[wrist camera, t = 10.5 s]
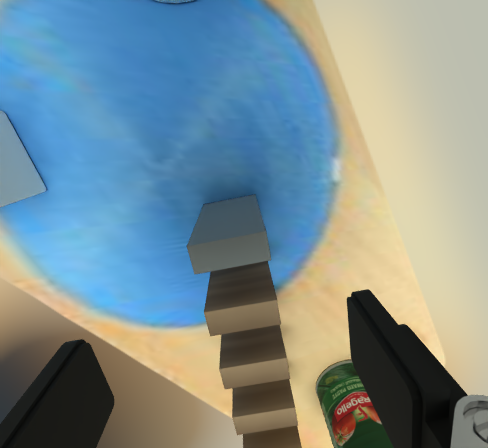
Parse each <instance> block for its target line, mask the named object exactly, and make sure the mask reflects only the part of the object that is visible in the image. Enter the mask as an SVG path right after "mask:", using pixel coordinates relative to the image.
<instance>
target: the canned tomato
mask: <svg viewBox="0 0 488 448" xmlns="http://www.w3.org/2000/svg"><path fill="white" fill-rule="evenodd" d="M316 393H317V396H318V398H319V401H320V405H321V408H322V411H323V415H324V417H325V421H326V424H327V428H328V430H329V434H330V437H331V440H332V444H333V446H334V448H394V447H393V445H392V443H391V441H390V439H389V437H388V435H387V433H386V431H385V429H384V427H383V425H382V423H381V421H380V419H379V417H378V415H377V413H376V411H375V409H374V407H373V405H372V403H371V401H370V399H369V397H368V395H367V393H366V391H365V388H364V386H363V384H362V382H361V380H360V378H359V376H358V374H357V372H356V370H355V368H354V366H353V363H352V360H346V361H341V362H338V363H335V364H333V365H332V366H330V367H328V368H327V369H326V370H325V371H324V372H323V373H322V374H321V375H320V377H319V378H318V380H317V383H316Z"/></svg>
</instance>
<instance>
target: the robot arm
mask: <svg viewBox="0 0 488 448" xmlns="http://www.w3.org/2000/svg"><path fill="white" fill-rule="evenodd" d="M156 1H159V2H167V3H181V2H188V1H193V0H156ZM347 309H348V323H349V336H350V349H351V359H352V363H353V366H354V368H355V370H356V372H357V374H358V376H359V378H360V380H361V382H362V384H363V386H364V388H365V391H366V393H367V395H368V397H369V399H370V401H371V403H372V405H373V407H374V409H375V411H376V413H377V415H378V417H379V419H380V421H381V423H382V425H383V427H384V429H385V431H386V433H387V435H388V437H389V439H390V441H391V443H392V445H393V447H394V448H488V396H484V395H469V396H468V395H467V394H466V393H465V391H464V390H463V389H462V388H461V387H460V386H459V384H458V383H457V382H456V381H455V380H454V379H453V377H452V376H451V375H450V374H449V373H448V372H447V371H446V370H445V368H444V367H443V366H442V365H441V364H440V362H439V361H438V360H437V359H436V358H435V357H434V355H433V354H432V353H431V352H430V351H429V350H428V348H427V347H426V346H425V345H424V344H423V343H422V341H421V340H420V339H419V338H418V337H417V336H416V334H415V333H414V332H413V331H412V330H411V329H410V328H409V327H408V326H407V325H405V324H401V325H398V324H397V323H396V321H395V320H394V319H393V318H392V317H391V315H390V314H389V313H388V312H387V310H386V309H385V308H384V307H383V306H382V304H381V303H380V302H379V301H378V299H377V298H376V297H375V296H374V295H373V293H372V292H371V291H370V290H368V289H367V290H361V291H356V292H352V294H351V297H348V298H347ZM113 406H114V396H113V394H112V391H111V389H110V387H109V385H108V383H107V381H106V378H105V376H104V374H103V372H102V369H101V367H100V365H99V363H98V360H97V358H96V356H95V354H94V352H93V349H92V347H91V345H90V344H89V343H86V342H85V341H84V340H82V339H81V340H75V341H69V342H65V343H64V344H63V345H62V346H61V347H60V348H59V350H58V351H57V352H56V354H55V355H54V356H53V357H52V359H51V360H50V361H49V362H48V364H47V365H46V366H45V368H44V369H43V370H42V371H41V373H40V374H39V375H38V376H37V378H36V379H35V380H34V382H33V383H32V384H31V385H30V387H29V388H28V389H27V391H26V392H25V393H24V394H23V396H22V397H21V398H20V400H19V401H18V402H17V403H16V405H15V406H14V407H13V409H12V410H11V411H10V412H9V414H8V415H7V416H6V417H5V419H4V420H3V421H2V423H1V424H0V448H96V447H97V444H98V442H99V440H100V437H101V435H102V433H103V430H104V428H105V425H106V423H107V421H108V419H109V416H110V414H111V412H112V409H113Z"/></svg>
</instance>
